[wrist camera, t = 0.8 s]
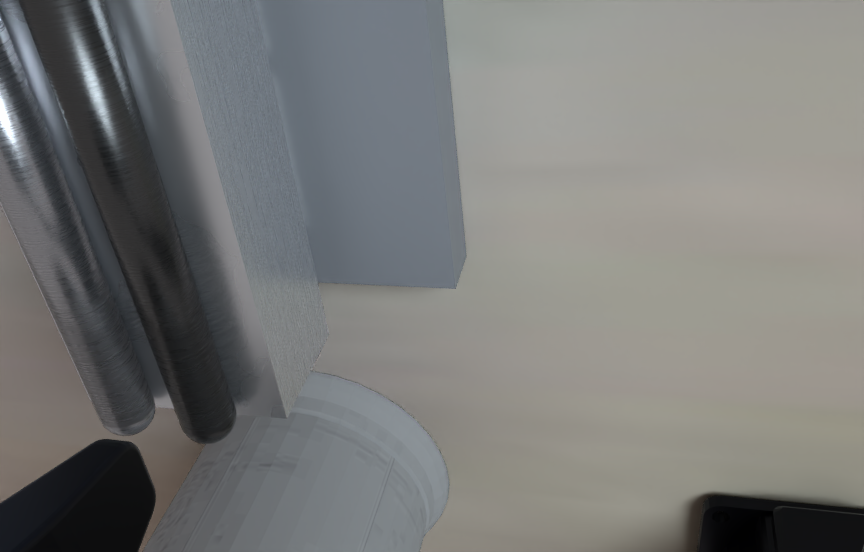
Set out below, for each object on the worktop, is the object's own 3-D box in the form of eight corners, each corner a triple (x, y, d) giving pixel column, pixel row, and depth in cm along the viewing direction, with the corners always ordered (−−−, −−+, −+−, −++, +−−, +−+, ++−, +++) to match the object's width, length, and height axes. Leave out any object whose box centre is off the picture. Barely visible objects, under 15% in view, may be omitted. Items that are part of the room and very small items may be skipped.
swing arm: (-83, -420, 14) (-392, -464, 10) (180, -471, 13) (-44, -544, 9) (171, 303, 23) (63, 441, 19) (341, 313, 22) (267, 462, 17)
